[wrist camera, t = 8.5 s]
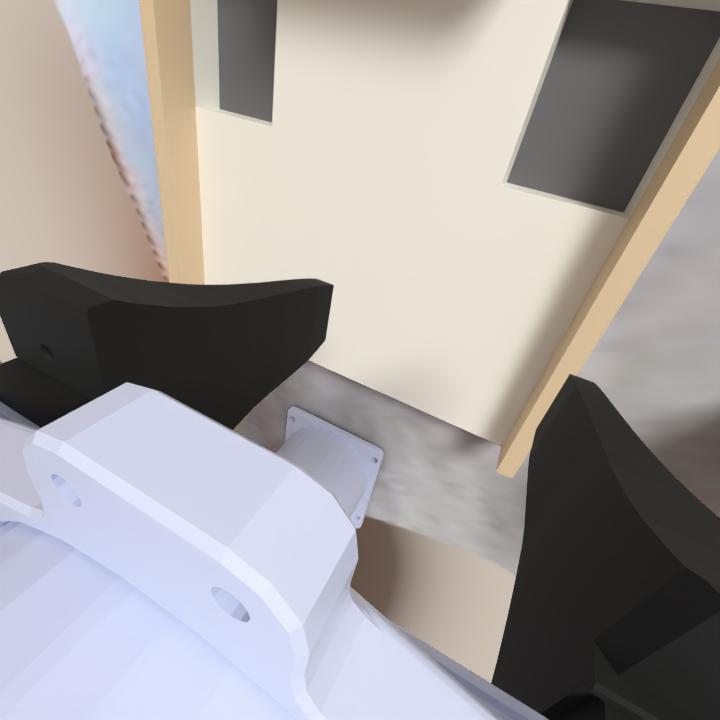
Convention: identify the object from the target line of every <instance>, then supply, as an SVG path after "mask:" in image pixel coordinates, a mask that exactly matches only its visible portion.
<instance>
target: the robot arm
mask: <svg viewBox="0 0 720 720" xmlns="http://www.w3.org/2000/svg"><path fill="white" fill-rule="evenodd" d="M333 288H334V285H332V284H330V283H327V282H324V281H322V280H319V279H312V278H307V279H291V280H280V281H270V282H259V283H244V284H227V285H199V284H180V283H168V282H155V281H147V280H139V279H132V278H126V277H120V276H114V275H108V274H103V273H98V272H93V271H88V270H84V269H80V268H75V267H70V266H66V265H61V264H58V263H49V262H43V263H38V264H33V265H29V266H25V267H20V268H17V269H12V270H7V271H3V272H1V273H0V316H1V319H2V321H3V324H4V327H5V329H6V331H7V334H8V336H9V339H10V342H11V344H12V347H13V349H14V352H15V354H16V356H17V357H18V358H15V359H13V360H10V361H8V362H5V363H2V362H1V361H0V720H720V518H719V517H718V516H716V515H715V514H714V513H713V512H712V511H711V510H709V509H708V508H707V507H706V506H705V505H704V504H703V503H702V502H700V501H699V500H698V499H697V498H696V497H695V496H694V495H693V494H692V493H691V492H690V491H689V490H688V489H687V488H686V487H685V486H684V485H683V484H682V483H680V482H679V481H678V480H677V479H676V478H675V477H674V476H673V475H672V474H671V473H670V472H669V471H668V470H667V469H666V468H665V466H664V465H663V464H662V463H661V462H660V461H659V460H658V459H657V458H656V457H655V455H654V454H653V453H652V452H651V451H650V450H649V449H648V448H647V447H646V445H645V444H644V443H643V442H642V441H641V440H640V438H639V437H638V436H637V435H636V434H635V432H634V431H633V430H632V429H631V427H630V426H629V425H628V424H627V422H626V421H625V420H624V419H623V417H622V416H621V415H620V413H619V412H618V411H617V410H616V408H615V407H614V406H613V404H612V403H611V402H610V400H609V399H608V398H607V397H606V395H605V394H604V393H603V392H602V391H601V389H600V388H599V387H598V386H597V385H596V384H595V383H593V382H591V381H588V380H585V379H583V378H580V377H577V376H575V375H572V374H570V375H569V376H568V378H567V379H566V381H565V383H564V384H563V386H562V388H561V389H560V391H559V392H558V394H557V396H556V397H555V399H554V401H553V402H552V404H551V406H550V407H549V409H548V410H547V412H546V414H545V415H544V417H543V419H542V420H541V422H540V424H539V425H538V427H537V428H536V431H535V435H534V440H533V444H532V448H531V452H530V457H529V467H528V481H527V496H526V511H525V527H524V536H523V544H522V549H521V554H520V559H519V565H518V570H517V575H516V580H515V585H514V589H513V595H512V599H511V603H510V608H509V613H508V617H507V621H506V626H505V630H504V635H503V638H502V643H501V647H500V651H499V655H498V660H497V664H496V667H495V671H494V675H493V679H492V683H489V682H488V681H486V680H485V679H483V678H481V677H480V676H478V675H476V674H475V673H473V672H472V671H470V670H468V669H467V668H465V667H464V666H462V665H460V664H459V663H457V662H456V661H454V660H452V659H451V658H449V657H448V656H446V655H444V654H443V653H441V652H439V651H438V650H436V649H435V648H433V647H431V646H430V645H428V644H427V643H425V642H423V641H422V640H420V639H418V638H417V637H415V636H413V635H412V634H410V633H409V632H407V631H406V630H404V629H402V628H401V627H399V626H398V625H396V624H394V623H393V622H391V621H390V620H388V619H387V618H385V617H384V616H383V615H382V614H381V613H380V612H379V611H377V610H376V609H375V608H374V607H373V606H372V605H371V604H369V603H368V602H367V601H366V600H365V599H364V598H362V597H361V596H360V595H359V594H358V593H357V592H356V591H355V590H353V589H352V588H351V587H350V582H351V579H352V576H353V573H354V570H355V567H356V564H357V561H358V551H357V539H356V530H355V528H360V527H361V525H362V523H363V520H364V516H365V513H366V510H367V507H368V504H369V501H370V497H371V494H372V491H373V488H374V485H375V482H376V479H377V475H378V472H379V469H380V466H381V463H382V460H383V456H384V452H383V451H382V449H380V448H379V447H377V446H375V445H373V444H371V443H369V442H367V441H365V440H363V439H360V438H358V437H356V436H354V435H352V434H350V433H348V432H346V431H344V430H342V429H340V428H338V427H336V426H334V425H332V424H330V423H328V422H326V421H324V420H322V419H320V418H318V417H316V416H314V415H312V414H309V413H307V412H305V411H303V410H301V409H299V408H297V407H295V406H292V407H290V408H289V409H288V413H287V423H286V433H285V443H284V444H283V445H282V446H281V447H280V449H279V450H278V451H277V452H276V453H274V452H272V451H270V450H268V449H266V448H265V447H263V446H261V445H259V444H257V443H255V442H253V441H252V440H250V439H248V438H246V437H244V436H242V435H240V434H239V433H237V432H235V431H233V429H234V428H235V427H236V426H237V425H238V424H239V423H240V422H241V420H242V419H243V418H244V417H245V416H246V415H247V414H248V413H249V412H250V411H251V410H252V409H253V408H254V407H255V406H256V405H257V404H258V403H259V402H260V401H261V400H262V399H263V398H264V397H266V396H267V395H268V394H269V393H270V392H272V391H273V390H274V389H275V388H276V387H277V386H279V385H280V384H281V383H282V382H283V381H285V380H286V379H287V378H288V377H289V376H291V375H292V374H293V373H294V372H295V371H296V370H298V369H299V368H300V367H301V366H302V365H303V364H305V363H306V362H307V361H308V360H309V359H310V358H311V357H312V356H313V354H314V353H315V352H316V351H317V350H318V349H319V347H320V346H321V345H322V344H323V342H324V341H325V340H326V334H327V327H328V320H329V314H330V307H331V301H332V294H333ZM293 417H294V418H293ZM375 458H376V459H375Z"/></svg>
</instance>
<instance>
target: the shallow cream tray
mask: <svg viewBox="0 0 720 720" xmlns="http://www.w3.org/2000/svg"><path fill="white" fill-rule="evenodd" d="M139 4H140V13H141V22H142V32H143V41H144V50H145V60H146V69H147V78H148V87H149V97H150V106H151V115H152V125H153V134H154V143H155V152H156V162H157V171H158V180H159V190H160V199H161V208H162V218H163V227H164V236H165V245H166V255H167V264H168V273H169V283H180V284H199V285H227V284H244V283H259V282H270V281H280V280H291V279H307V278H312V279H319V280H322V281H324V282H327V283H330V284H332V285H334V288H333V294H332V301H331V307H330V314H329V320H328V327H327V334H326V340H325V341H324V342H323V344H322V345H321V346H320V347H319V349H318V350H317V351H316V352H315V353H314V354H313V356H312V357H311V358H310V359H309V361H311V362H313V363H316V364H318V365H320V366H322V367H325V368H327V369H329V370H331V371H333V372H336V373H338V374H340V375H342V376H345V377H347V378H349V379H351V380H354V381H356V382H358V383H360V384H363V385H365V386H367V387H369V388H372V389H374V390H376V391H378V392H381V393H383V394H385V395H387V396H390V397H392V398H394V399H396V400H398V401H401V402H403V403H405V404H407V405H410V406H412V407H414V408H416V409H419V410H421V411H423V412H425V413H428V414H430V415H432V416H434V417H437V418H439V419H441V420H443V421H446V422H448V423H450V424H452V425H454V426H457V427H459V428H461V429H463V430H466V431H468V432H470V433H472V434H475V435H477V436H479V437H481V438H484V439H486V440H488V441H490V442H493V443H495V444H497V445H499V446H501V451H500V455H499V460H498V464H497V469H496V472H498V473H500V474H502V475H504V476H506V477H509V478H511V479H512V478H513V477H514V475H515V473H516V472H517V470H518V469H519V467H520V465H521V464H522V462H523V461H524V459H525V457H526V456H527V454H528V453H529V451H530V450H531V448H532V444H533V440H534V435H535V431H536V428H537V427H538V425H539V424H540V422H541V420H542V419H543V417H544V415H545V414H546V412H547V410H548V409H549V407H550V406H551V404H552V402H553V401H554V399H555V397H556V396H557V394H558V392H559V391H560V389H561V388H562V386H563V384H564V383H565V381H566V379H567V378H568V376H569V375H570V374H572V375H575V376H577V375H578V373H579V371H580V370H581V368H582V367H583V365H584V363H585V362H586V360H587V359H588V357H589V355H590V354H591V352H592V351H593V349H594V347H595V346H596V344H597V343H598V341H599V339H600V338H601V336H602V335H603V333H604V332H605V330H606V328H607V327H608V325H609V324H610V322H611V320H612V319H613V317H614V316H615V314H616V312H617V311H618V309H619V308H620V306H621V304H622V303H623V301H624V300H625V298H626V296H627V295H628V293H629V292H630V290H631V288H632V287H633V285H634V284H635V282H636V281H637V279H638V277H639V276H640V274H641V273H642V271H643V269H644V268H645V266H646V265H647V263H648V261H649V260H650V258H651V257H652V255H653V253H654V252H655V250H656V249H657V247H658V245H659V244H660V242H661V241H662V239H663V237H664V236H665V234H666V233H667V231H668V229H669V228H670V226H671V225H672V223H673V222H674V220H675V218H676V217H677V215H678V214H679V212H680V210H681V209H682V207H683V206H684V204H685V202H686V201H687V199H688V198H689V196H690V194H691V193H692V191H693V190H694V188H695V186H696V185H697V183H698V182H699V180H700V178H701V177H702V175H703V174H704V172H705V170H706V169H707V167H708V166H709V164H710V163H711V161H712V159H713V158H714V156H715V155H716V153H717V151H718V150H719V148H720V0H139Z"/></svg>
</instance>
